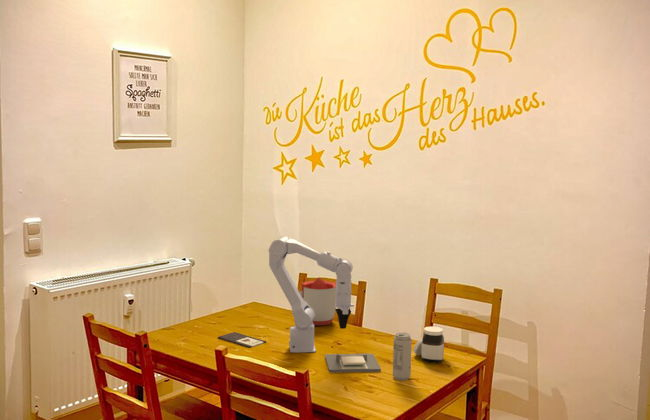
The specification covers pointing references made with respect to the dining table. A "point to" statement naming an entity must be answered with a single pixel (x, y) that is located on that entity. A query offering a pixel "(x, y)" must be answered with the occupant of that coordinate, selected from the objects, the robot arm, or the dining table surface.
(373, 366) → the grey flat piece
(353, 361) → the tile
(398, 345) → the energy drink can
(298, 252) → the robot arm
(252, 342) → the chocolate bar
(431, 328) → the spread jar
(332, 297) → the citrus juicer
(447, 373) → the dining table surface
